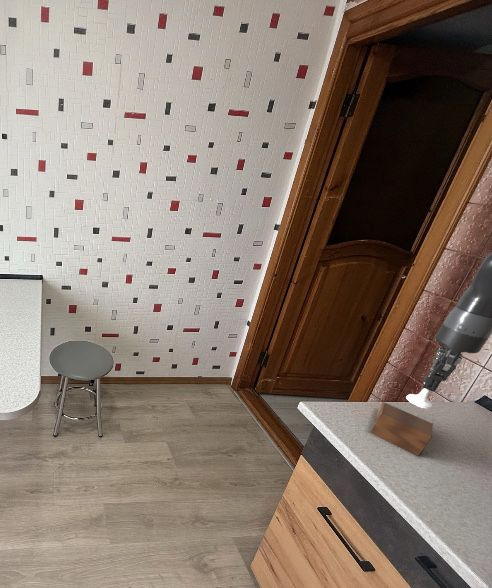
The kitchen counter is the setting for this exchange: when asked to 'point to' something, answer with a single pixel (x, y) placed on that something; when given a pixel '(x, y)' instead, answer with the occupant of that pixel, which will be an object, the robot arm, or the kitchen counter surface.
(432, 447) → the kitchen counter surface
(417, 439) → the wood grain box
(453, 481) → the kitchen counter surface
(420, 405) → the chess piece
